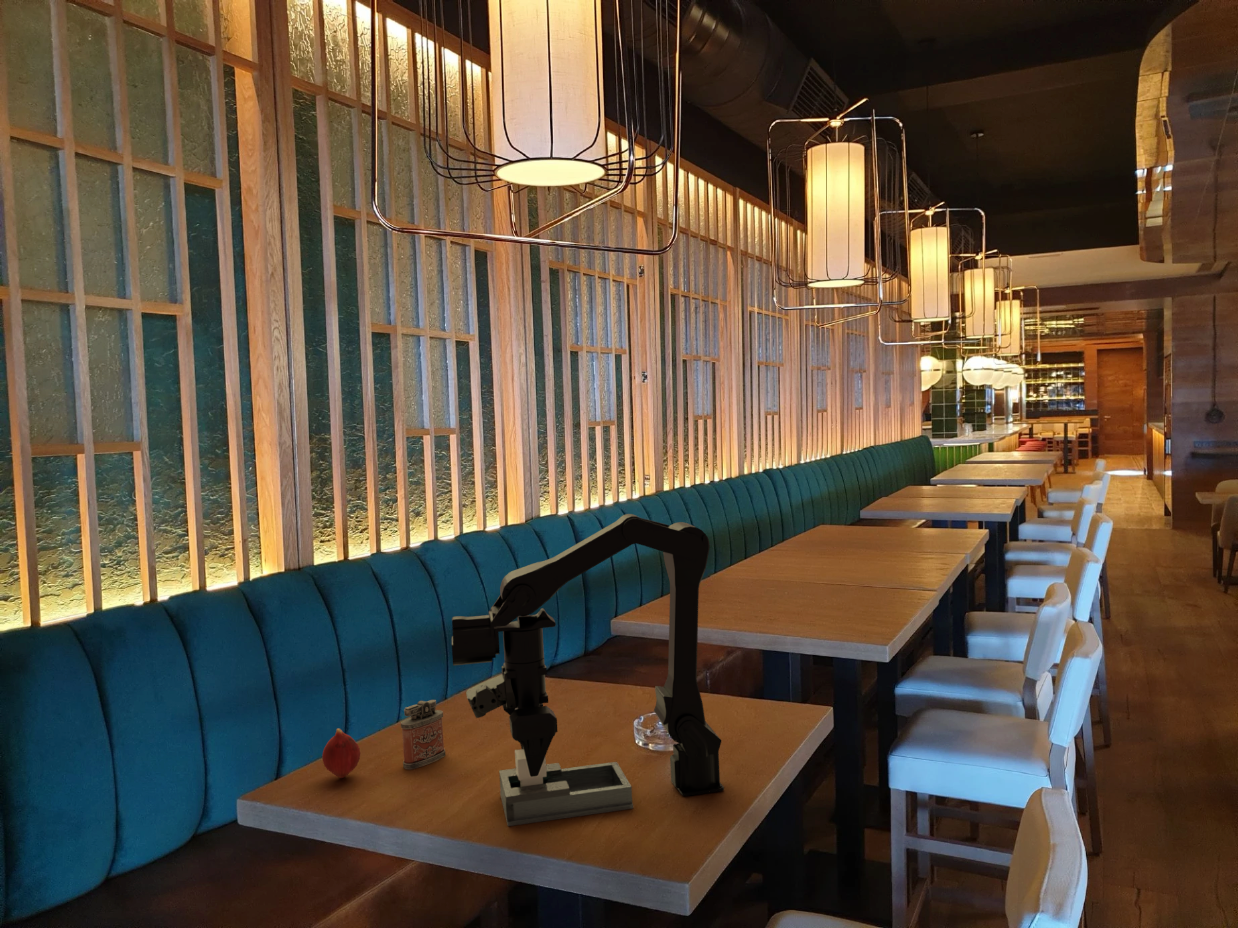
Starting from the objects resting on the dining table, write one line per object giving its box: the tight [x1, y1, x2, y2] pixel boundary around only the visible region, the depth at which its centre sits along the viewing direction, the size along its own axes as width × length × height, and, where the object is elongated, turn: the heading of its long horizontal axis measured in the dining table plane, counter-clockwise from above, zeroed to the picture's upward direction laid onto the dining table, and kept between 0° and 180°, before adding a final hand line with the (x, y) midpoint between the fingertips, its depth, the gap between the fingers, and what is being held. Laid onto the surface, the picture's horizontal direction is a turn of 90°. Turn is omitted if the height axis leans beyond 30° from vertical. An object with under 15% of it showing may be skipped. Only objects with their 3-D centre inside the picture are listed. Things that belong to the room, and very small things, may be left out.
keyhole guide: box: [499, 761, 634, 827], centre depth 136 cm, size 18×11×4 cm, turn 102°
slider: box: [514, 748, 547, 787], centre depth 135 cm, size 6×6×7 cm
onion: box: [321, 728, 361, 779], centre depth 149 cm, size 6×6×8 cm
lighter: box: [400, 699, 446, 770], centre depth 155 cm, size 8×3×10 cm, turn 141°
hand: (530, 763), depth 135 cm, fingers open, 9 cm apart
